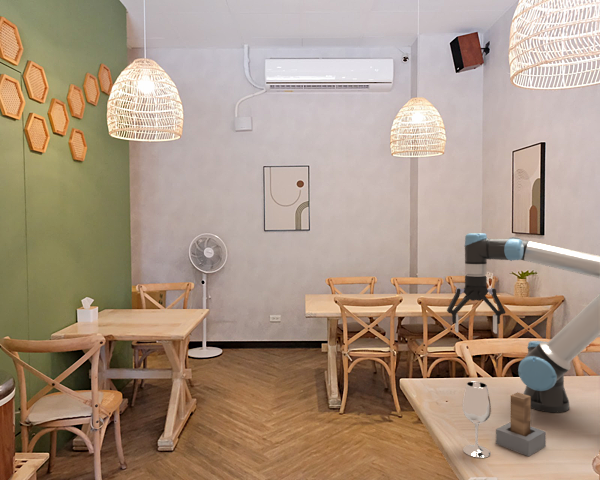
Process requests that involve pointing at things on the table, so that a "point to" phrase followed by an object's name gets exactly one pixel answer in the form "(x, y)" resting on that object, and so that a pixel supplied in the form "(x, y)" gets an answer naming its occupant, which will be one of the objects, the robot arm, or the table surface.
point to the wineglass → (476, 414)
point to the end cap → (521, 440)
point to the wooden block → (520, 414)
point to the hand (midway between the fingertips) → (475, 332)
